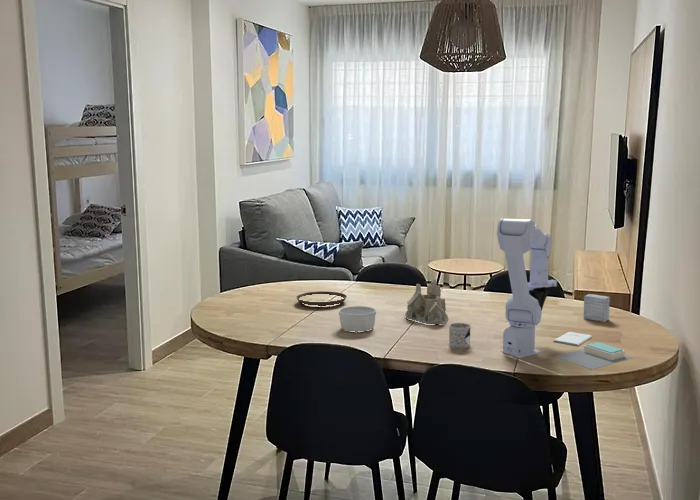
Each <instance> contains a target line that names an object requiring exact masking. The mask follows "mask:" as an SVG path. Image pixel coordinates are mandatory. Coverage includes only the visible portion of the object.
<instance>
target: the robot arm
mask: <svg viewBox="0 0 700 500" xmlns="http://www.w3.org/2000/svg"><path fill="white" fill-rule="evenodd" d="M496 236H497V241H498V245H499V249H500V250H502V251H503V252H504V254H505V255H504V256H505V261H506V265H507V267H506V268H507V271H508V277H509V282H510V289H511V293H512V294H511V296H509V298H507V300H506V303H505V305H504V307H505V316H504V317H505V319H506V321H507V322H508V324H509V327H507V328H505V329H504V330H503V333H502V349H501V350H500V352H501V353H505V354H507V355H509V356H511V357H515V358H519V359H521V358H525V357H528V356H533V355H537V354H541V351H540V350H537V349H535V346H536V326H538V325H539V324H540V323H541V320H542V311H543V307H544V304H545V301H546V299H547V297H548V295H550V292H551V290H550V289H549V288H551V287H554V288H555V287H557V285H558V281H557V280H556V279H549V266H550V265H549V263H550V262H549V261H550V255H551V249H552V243H553V241H552V239H553V238H552V235H550V234H549V233H545V232H543V231H542V230H541V229H540V228H539V225H536V223H535V221H534V220H533V218H532V219H531V218H530V219H524V218H523V219H522V218H521V219H520V218H506V217H501V218H500V219H499V220H498V222H497V230H496ZM528 252H530V258H529V259H530V260H529V261H530V266H529V267H530V269H529V282H528V279H527V272H526V271H527V270H526V266H525V259H524V254H526V253H528Z"/></svg>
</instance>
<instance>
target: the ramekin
mask: <svg viewBox="0 0 700 500" xmlns="http://www.w3.org/2000/svg"><path fill="white" fill-rule="evenodd" d="M338 315H339V322H340V328H341V329H342V330H343V329H344V330H347V331H355V332H358V331H367V330H370V329H372V328H373V329H374V328H375V324H376V323H375V322H376V315H377V309H375V308H374V307H371V306H363V305H362V306H361V305H352V306H344V307H341V308H339V310H338ZM373 329H372V330H373ZM344 330H343V331H344Z"/></svg>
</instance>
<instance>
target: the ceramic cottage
mask: <svg viewBox="0 0 700 500" xmlns="http://www.w3.org/2000/svg"><path fill="white" fill-rule="evenodd" d="M415 285H416V287H415V292H414V293H413V295H412V296H411V297H410V299H408V301H407V306H406V307H407V308H406V309H407V310H406V311H405V315H404V317H405V316H406V318H408V319H412V320H416V321H419V322H422V323H426V324H444V325H445V323H446V322H447V321H448V322H449V316H448V314H447V313H446V311H447V307H446V299H445V298H442V297H441V295H442V294H441V293H442V292H441V286H440V285H438V284H437V280H436V278H433V279H432V281H431V282H430V284H427V285H426V294H423V293H422V287H421V286H422V285H421V284H420V283H416V284H415ZM448 322H447V323H448ZM447 323H446V324H447Z"/></svg>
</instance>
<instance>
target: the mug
mask: <svg viewBox="0 0 700 500" xmlns="http://www.w3.org/2000/svg"><path fill="white" fill-rule="evenodd" d="M448 327H449V328H448V329H449V338H448V339H449V340H448V341H449V343H448V345H450V346H451V347H450V346H449V347H450V348H452V347H454V348H453V349H458V348H463V349H468V348H470V347H471V325H470V324H469V323H465V322H454V323H451V324H449V326H448Z"/></svg>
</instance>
